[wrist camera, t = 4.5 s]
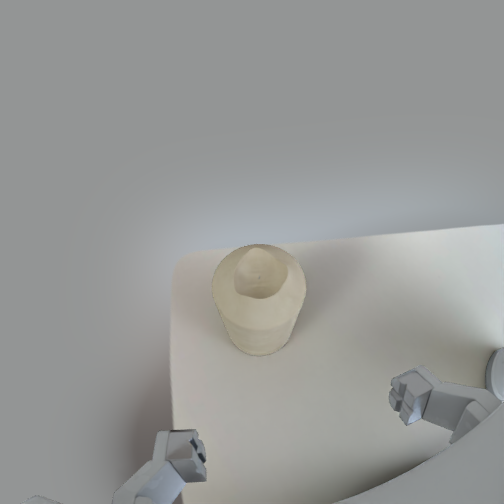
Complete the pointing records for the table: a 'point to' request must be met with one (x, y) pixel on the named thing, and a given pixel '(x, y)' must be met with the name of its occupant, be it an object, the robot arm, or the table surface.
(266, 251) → the candle
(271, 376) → the table surface
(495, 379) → the travel mug
